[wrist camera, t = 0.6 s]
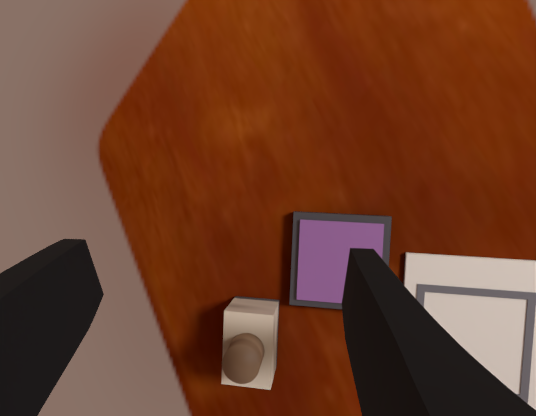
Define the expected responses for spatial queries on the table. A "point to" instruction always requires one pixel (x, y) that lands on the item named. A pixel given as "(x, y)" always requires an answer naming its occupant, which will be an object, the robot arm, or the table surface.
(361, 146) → the table surface
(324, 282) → the ink pad
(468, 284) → the stamp board
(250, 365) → the stamp
